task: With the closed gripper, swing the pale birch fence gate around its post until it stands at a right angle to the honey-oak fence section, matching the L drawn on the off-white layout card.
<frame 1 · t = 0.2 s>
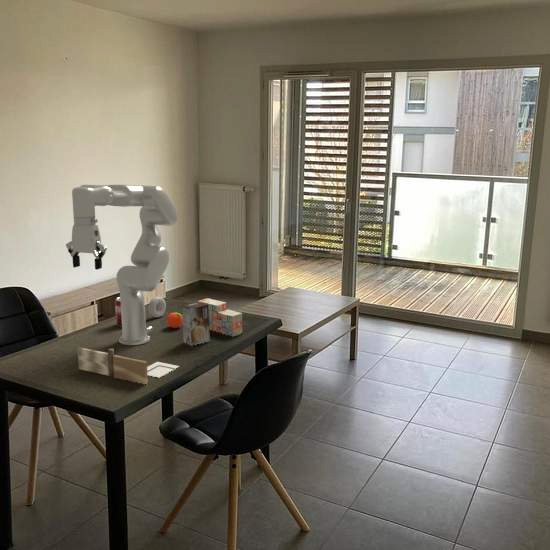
hand: (87, 267, 231), 36 cm above the table, tool pointing down, fingers open, 9 cm apart
donut: (157, 317, 293), on the table
clementine: (176, 328, 277), on the table
coffee box: (196, 342, 259), on the table
fence frame: (112, 376, 223), on the table
fence gate: (93, 361, 226), point 4 cm above the table, hinge at 0.0°
soda can: (124, 325, 282), on the table
layout card: (158, 370, 229), on the table
stack of blocks: (220, 330, 274), on the table
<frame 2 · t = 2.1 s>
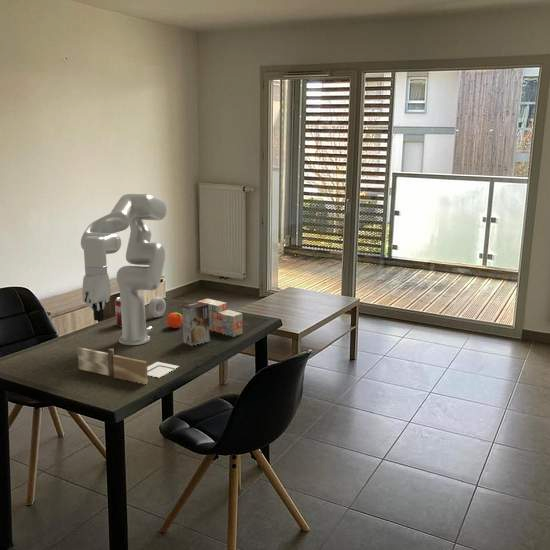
hand: (98, 319, 228), 18 cm above the table, tool pointing down, fingers closed
nothing on the table moved.
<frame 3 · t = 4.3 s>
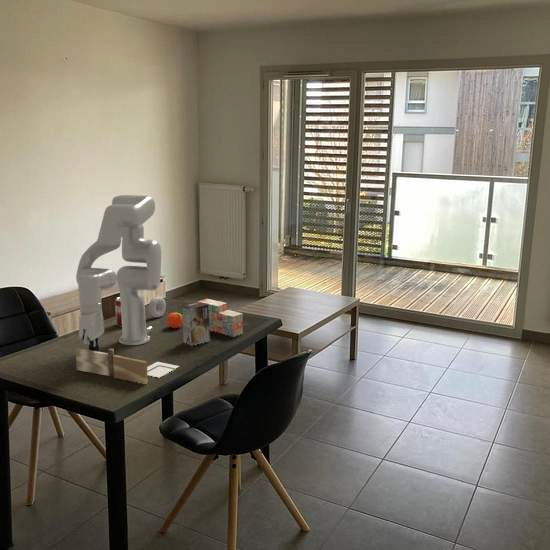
hand: (94, 355, 228), 5 cm above the table, tool pointing down, fingers closed
fence gate: (92, 361, 225), point 4 cm above the table, hinge at 4.2°, touching gripper
everything else where it was.
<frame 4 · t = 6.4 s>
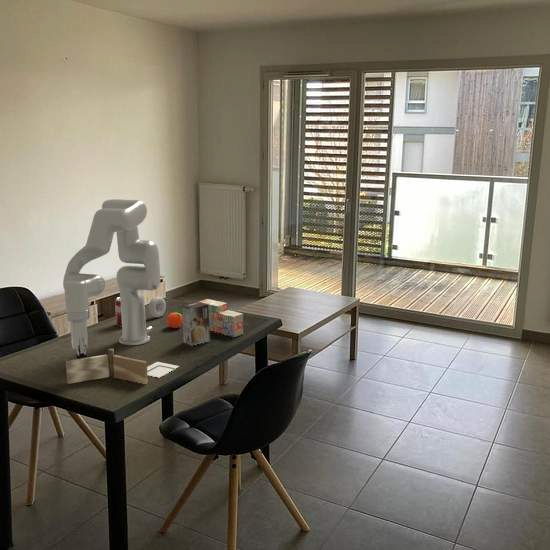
hand: (82, 364, 220), 5 cm above the table, tool pointing down, fingers closed
fence gate: (87, 369, 219), point 4 cm above the table, hinge at 53.1°, touching gripper
everything else where it was.
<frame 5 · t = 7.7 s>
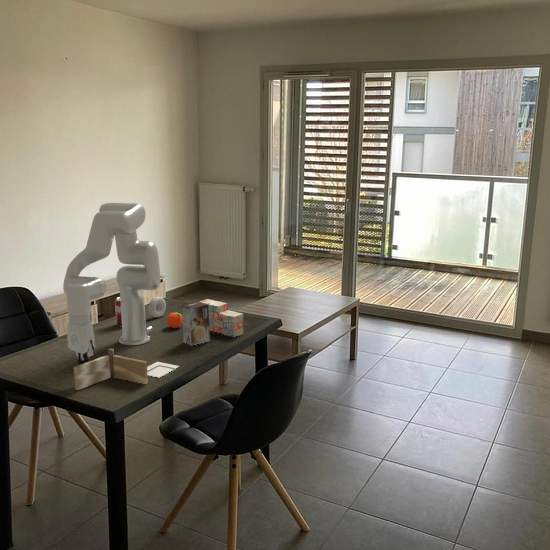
hand: (84, 369, 216), 5 cm above the table, tool pointing down, fingers closed
fence gate: (92, 372, 216), point 4 cm above the table, hinge at 81.5°, touching gripper
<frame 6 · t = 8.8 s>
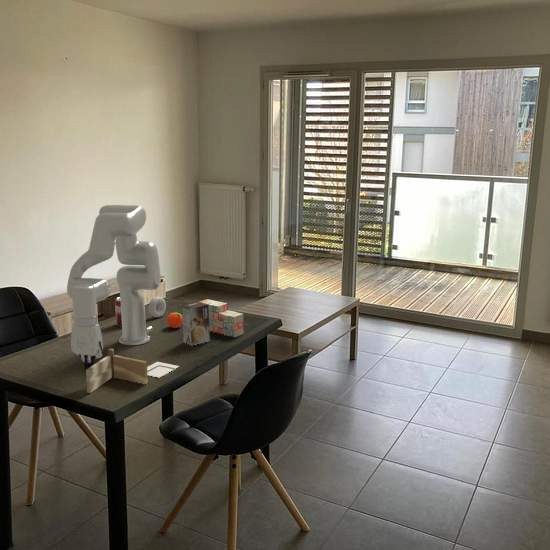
hand: (89, 372, 214), 5 cm above the table, tool pointing down, fingers closed
fence gate: (99, 373, 214), point 4 cm above the table, hinge at 101.9°, touching gripper
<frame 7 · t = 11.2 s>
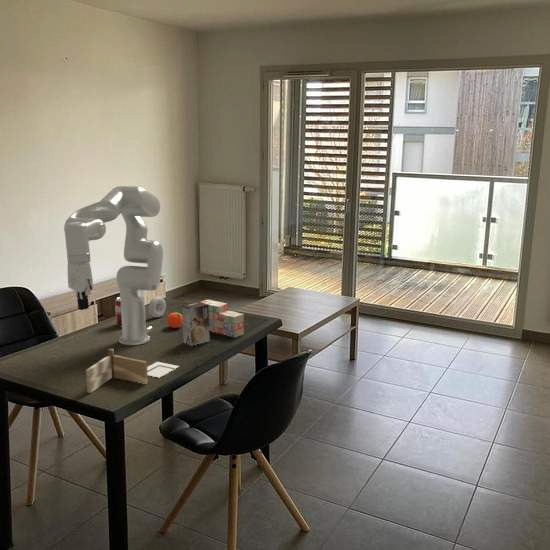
hand: (83, 308, 221), 24 cm above the table, tool pointing down, fingers closed
fence gate: (99, 373, 214), point 4 cm above the table, hinge at 102.1°
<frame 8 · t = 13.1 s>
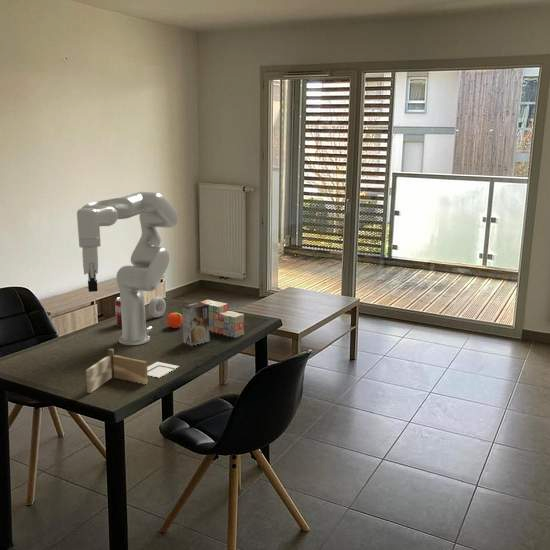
hand: (93, 290, 233), 27 cm above the table, tool pointing down, fingers closed
at the end: fence gate at +102° (first picture: +0°) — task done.
